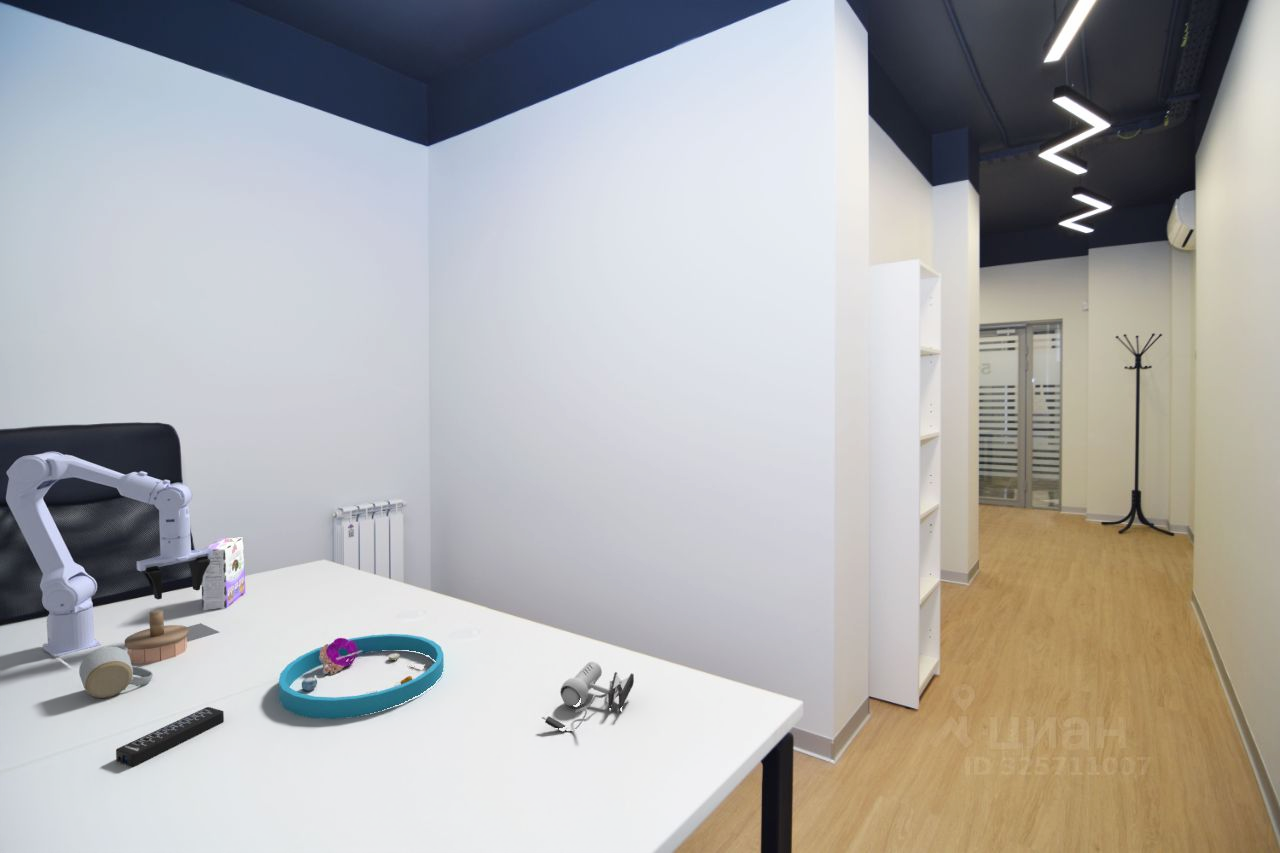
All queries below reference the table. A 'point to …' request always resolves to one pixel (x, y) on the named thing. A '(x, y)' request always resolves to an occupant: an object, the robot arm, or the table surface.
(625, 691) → the clip-on lamp
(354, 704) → the teal ring
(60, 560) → the robot arm
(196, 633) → the mat
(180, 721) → the multiport hub
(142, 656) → the bowl
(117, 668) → the ceramic mug
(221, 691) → the table surface
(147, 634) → the lid
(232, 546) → the candy box
